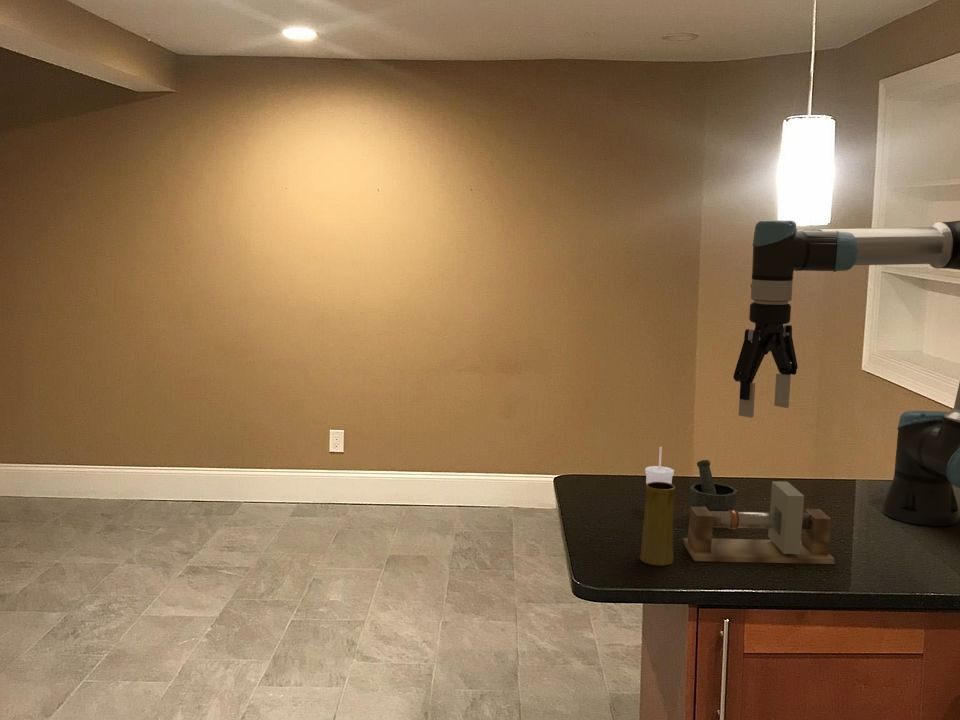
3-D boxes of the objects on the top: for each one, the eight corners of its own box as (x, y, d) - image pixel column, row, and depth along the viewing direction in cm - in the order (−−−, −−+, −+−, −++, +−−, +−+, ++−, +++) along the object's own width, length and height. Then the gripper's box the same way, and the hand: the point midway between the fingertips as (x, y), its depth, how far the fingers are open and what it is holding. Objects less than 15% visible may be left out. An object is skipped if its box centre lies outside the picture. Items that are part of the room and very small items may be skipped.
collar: (783, 536, 191) (787, 481, 189) (799, 554, 182) (804, 496, 180) (767, 536, 191) (772, 481, 189) (783, 553, 182) (788, 495, 180)
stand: (815, 545, 192) (818, 506, 190) (834, 564, 182) (837, 522, 180) (682, 542, 191) (685, 503, 190) (694, 561, 181) (696, 519, 180)
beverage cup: (677, 511, 211) (681, 448, 209) (657, 516, 208) (660, 451, 206) (657, 504, 216) (661, 442, 214) (637, 508, 213) (640, 445, 211)
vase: (666, 568, 177) (670, 492, 175) (634, 561, 180) (638, 486, 178) (678, 559, 182) (682, 484, 180) (647, 552, 185) (651, 479, 183)
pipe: (815, 527, 188) (817, 509, 187) (822, 533, 184) (823, 515, 184) (695, 524, 187) (696, 507, 187) (699, 530, 184) (701, 512, 183)
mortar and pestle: (743, 526, 202) (747, 470, 200) (702, 529, 200) (706, 472, 198) (717, 510, 213) (720, 456, 211) (677, 513, 210) (680, 458, 209)
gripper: (784, 297, 198) (778, 400, 201) (718, 304, 181) (712, 417, 184) (819, 299, 193) (812, 405, 196) (754, 307, 175) (748, 423, 179)
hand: (764, 411), depth 190 cm, fingers open, 13 cm apart
